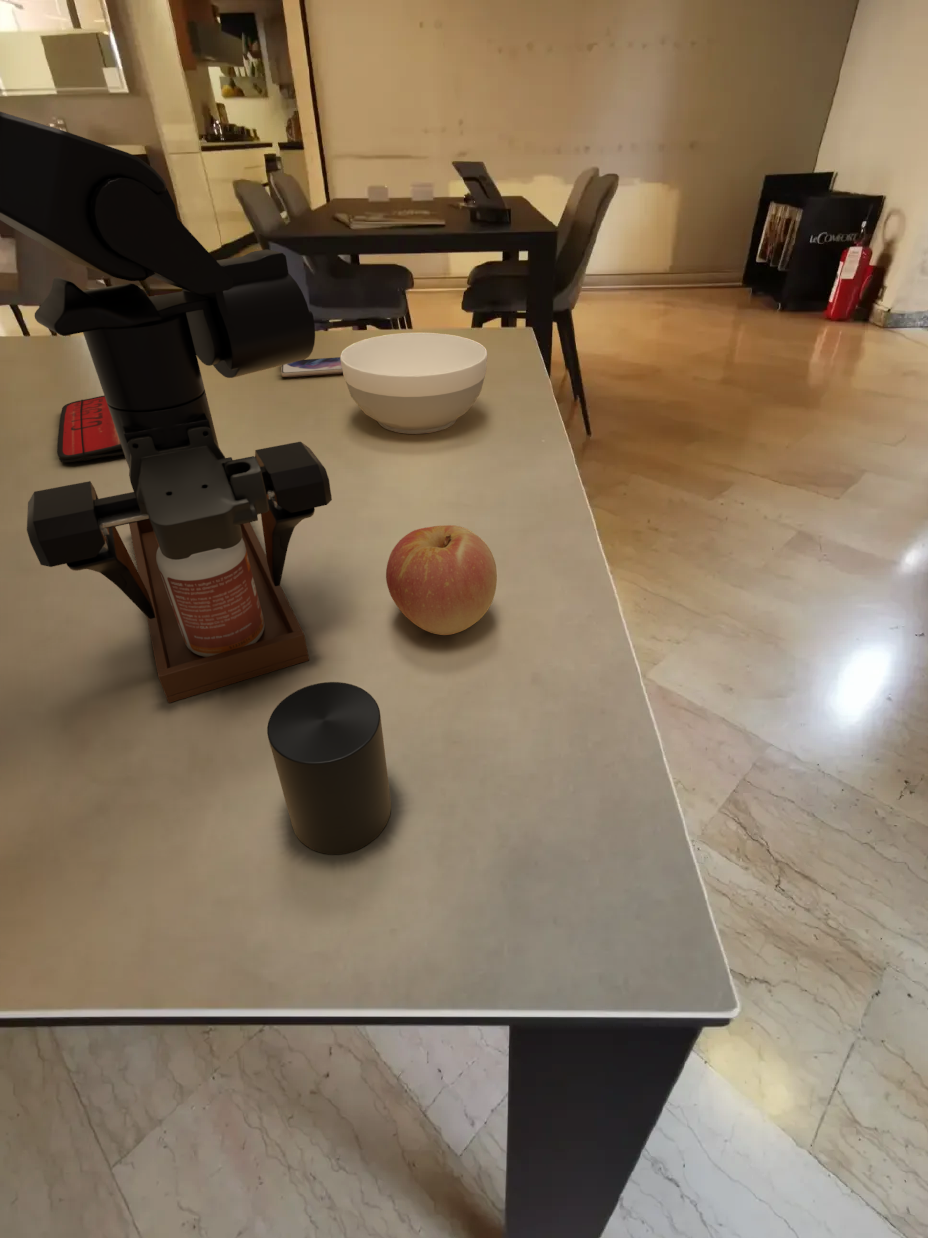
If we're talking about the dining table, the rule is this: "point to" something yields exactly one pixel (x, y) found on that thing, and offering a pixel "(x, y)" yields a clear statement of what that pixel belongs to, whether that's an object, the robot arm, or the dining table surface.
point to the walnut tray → (201, 674)
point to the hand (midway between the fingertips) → (216, 599)
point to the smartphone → (312, 367)
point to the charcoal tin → (331, 765)
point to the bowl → (415, 379)
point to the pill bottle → (213, 599)
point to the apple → (442, 578)
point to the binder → (87, 431)
